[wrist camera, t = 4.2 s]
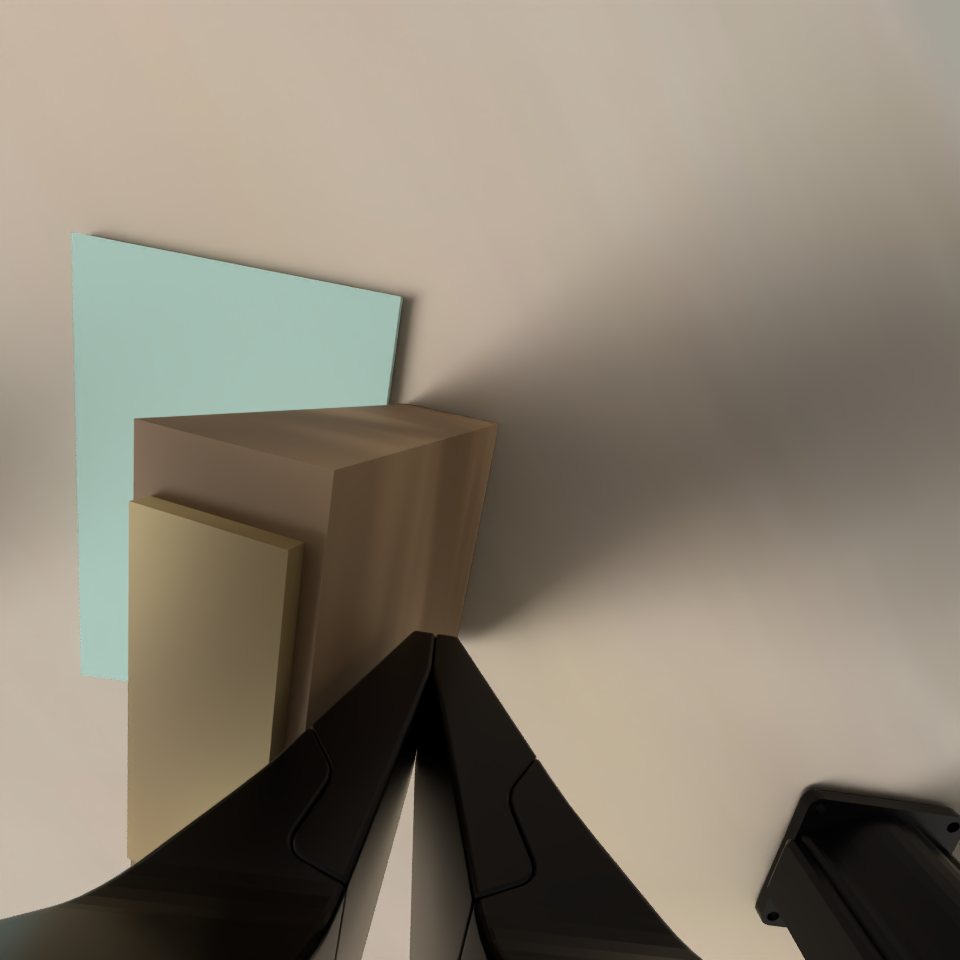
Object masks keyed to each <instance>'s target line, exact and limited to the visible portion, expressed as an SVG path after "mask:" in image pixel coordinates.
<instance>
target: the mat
mask: <svg viewBox="0 0 960 960" xmlns="http://www.w3.org/2000/svg"><path fill="white" fill-rule="evenodd" d="M71 241H72V285H73V330H74V375H75V420H76V465H77V510H78V554H79V599H80V644H81V675H85V676H93V677H100V678H107V679H114V680H121V681H128V595H129V501H131V500H133V482H134V418H152V417H171V416H189V415H208V414H227V413H245V412H264V411H283V410H301V409H320V408H339V407H357V406H376V405H389V398H390V391H391V383H392V376H393V369H394V361H395V354H396V346H397V339H398V332H399V324H400V317H401V309H402V302H403V298H402V297H400V296H395V295H390V294H385V293H380V292H374V291H369V290H364V289H359V288H354V287H349V286H344V285H339V284H334V283H329V282H324V281H318V280H313V279H308V278H303V277H298V276H293V275H288V274H283V273H278V272H273V271H268V270H263V269H257V268H252V267H247V266H242V265H237V264H232V263H227V262H222V261H217V260H212V259H207V258H201V257H196V256H191V255H186V254H181V253H176V252H171V251H166V250H161V249H156V248H151V247H145V246H140V245H135V244H130V243H125V242H120V241H115V240H110V239H105V238H100V237H95V236H90V235H84V234H79V233H74V232H71Z"/></svg>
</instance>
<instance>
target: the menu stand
mask: <svg viewBox="0 0 960 960" xmlns="http://www.w3.org/2000/svg"><path fill="white" fill-rule="evenodd" d="M498 425H499V424H497V423H493V422H488V421H483V420H479V419H474V418H469V417H465V416H460V415H455V414H451V413H446V412H441V411H437V410H432V409H427V408H423V407H418V406H413V405H409V404H395V405H376V406H357V407H339V408H320V409H301V410H283V411H264V412H245V413H227V414H208V415H189V416H171V417H152V418H134V482H133V500H131V501H129V595H128V829H127V858H129V859H131V866H132V865H134V864H135V863H137V862H138V861H139V860H141V859H142V858H144V857H145V856H146V855H148V854H149V853H150V852H152V851H153V850H154V849H156V848H157V847H158V846H160V845H161V844H162V843H164V842H165V841H167V840H168V839H169V838H171V837H172V836H173V835H175V834H176V833H177V832H179V831H180V830H181V829H183V828H184V827H185V826H187V825H188V824H190V823H191V822H192V821H194V820H195V819H196V818H198V817H199V816H200V815H202V814H203V813H204V812H206V811H207V810H209V809H210V808H211V807H213V806H214V805H215V804H217V803H218V802H219V801H221V800H222V799H223V798H225V797H226V796H227V795H229V794H230V793H232V792H233V791H234V790H235V789H237V788H238V787H239V786H241V785H242V784H243V783H244V782H246V781H247V780H248V779H250V778H251V777H252V776H253V775H255V774H256V773H257V772H259V771H260V770H261V769H262V768H264V767H265V766H266V765H267V764H269V763H270V762H271V761H272V760H273V759H274V758H275V757H277V756H278V755H279V754H280V753H281V752H282V751H284V750H285V749H286V748H287V747H288V746H289V745H290V744H292V743H293V742H294V741H295V740H296V739H297V738H298V737H299V736H300V735H301V734H302V733H303V732H305V731H306V730H307V729H310V727H311V725H312V724H314V723H315V722H316V721H317V720H318V719H319V718H320V717H321V716H322V715H323V714H324V713H325V712H327V711H328V710H329V709H330V708H331V707H332V706H333V705H334V704H335V703H336V702H337V701H338V700H340V699H341V698H342V697H343V696H344V695H345V694H346V693H347V692H348V691H349V690H350V689H351V688H353V687H354V686H355V685H356V684H357V683H358V682H359V681H360V680H361V679H362V678H363V677H364V676H366V675H367V674H368V673H369V672H370V671H371V670H372V669H373V668H374V667H375V666H376V665H377V664H378V663H380V662H381V661H382V660H383V659H384V658H385V657H386V656H387V655H388V654H389V653H390V652H391V651H393V650H394V649H395V648H396V647H397V646H398V645H399V644H400V643H401V642H402V641H403V640H404V639H406V638H407V637H408V636H409V635H410V634H411V633H412V632H413V631H423V632H429V633H433V634H434V635H435V637H436V635H438V634H442V635H449V636H455V637H457V638H458V632H459V627H460V622H461V617H462V612H463V607H464V601H465V596H466V591H467V586H468V581H469V575H470V570H471V565H472V560H473V555H474V549H475V544H476V539H477V534H478V529H479V524H480V518H481V513H482V508H483V503H484V498H485V492H486V487H487V482H488V477H489V472H490V467H491V461H492V456H493V451H494V446H495V441H496V435H497V430H498Z"/></svg>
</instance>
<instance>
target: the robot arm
mask: <svg viewBox="0 0 960 960" xmlns="http://www.w3.org/2000/svg"><path fill="white" fill-rule="evenodd" d="M416 752H417V754H416ZM415 757H416V763H415V785H414V822H413V858H412V895H411V931H410V960H702V959H701V958H700V957H699V956H698V955H696V954H695V953H694V952H693V951H692V950H691V949H690V948H689V947H688V946H687V945H686V944H685V943H684V942H683V941H682V940H681V939H680V938H679V937H678V936H677V935H676V934H675V933H674V932H673V931H672V930H671V929H670V927H669V926H668V925H667V924H666V923H665V922H664V921H663V919H662V918H661V917H660V916H659V915H658V913H657V912H656V911H655V910H654V908H653V907H652V906H651V905H650V904H649V902H648V901H647V900H646V899H645V897H644V896H643V895H642V894H641V893H640V891H639V890H638V889H637V888H636V887H635V885H634V884H633V883H632V882H631V880H630V879H629V878H628V877H627V876H626V874H625V873H624V872H623V871H622V869H621V868H620V867H619V866H618V865H617V863H616V862H615V861H614V860H613V858H612V857H611V856H610V855H609V854H608V852H607V851H606V850H605V849H604V847H603V846H602V845H601V844H600V843H599V841H598V840H597V839H596V838H595V836H594V835H593V834H592V833H591V831H590V830H589V829H588V828H587V826H586V825H585V824H584V822H583V821H582V820H581V819H580V817H579V816H578V815H577V813H576V812H575V811H574V810H573V808H572V807H571V806H570V805H569V803H568V802H567V800H566V799H565V797H564V796H563V795H562V793H561V792H560V790H559V789H558V787H557V786H556V785H555V783H554V782H553V780H552V779H551V778H550V776H549V775H548V773H547V771H546V770H545V768H544V767H543V765H542V764H541V762H540V761H539V760H537V759H536V755H535V754H534V752H533V751H532V749H531V748H530V746H529V745H528V743H527V742H526V740H525V739H524V737H523V736H522V734H521V733H520V731H519V730H518V728H517V726H516V725H515V723H514V722H513V720H512V719H511V717H510V716H509V714H508V713H507V711H506V710H505V708H504V707H503V705H502V704H501V702H500V701H499V699H498V698H497V696H496V695H495V693H494V692H493V690H492V689H491V687H490V686H489V684H488V683H487V681H486V680H485V678H484V677H483V675H482V674H481V672H480V671H479V669H478V668H477V666H476V665H475V663H474V662H473V660H472V658H471V657H470V655H469V654H468V652H467V651H466V649H465V648H464V646H463V645H462V643H461V642H460V640H459V639H458V638H457V637H455V636H449V635H442V634H438V635H436V637H435V635H434V634H433V633H429V632H423V631H413V632H412V633H411V634H410V635H409V636H408V637H407V638H406V639H404V640H403V641H402V642H401V643H400V644H399V645H398V646H397V647H396V648H395V649H394V650H393V651H391V652H390V653H389V654H388V655H387V656H386V657H385V658H384V659H383V660H382V661H381V662H380V663H378V664H377V665H376V666H375V667H374V668H373V669H372V670H371V671H370V672H369V673H368V674H367V675H366V676H364V677H363V678H362V679H361V680H360V681H359V682H358V683H357V684H356V685H355V686H354V687H353V688H351V689H350V690H349V691H348V692H347V693H346V694H345V695H344V696H343V697H342V698H341V699H340V700H338V701H337V702H336V703H335V704H334V705H333V706H332V707H331V708H330V709H329V710H328V711H327V712H325V713H324V714H323V715H322V716H321V717H320V718H319V719H318V720H317V721H316V722H315V723H314V724H312V725H311V727H310V729H307V730H306V731H305V732H303V733H302V734H301V735H300V736H299V737H298V738H297V739H296V740H295V741H294V742H293V743H292V744H290V745H289V746H288V747H287V748H286V749H285V750H284V751H282V752H281V753H280V754H279V755H278V756H277V757H275V758H274V759H273V760H272V761H271V762H270V763H269V764H267V765H266V766H265V767H264V768H262V769H261V770H260V771H259V772H257V773H256V774H255V775H253V776H252V777H251V778H250V779H248V780H247V781H246V782H244V783H243V784H242V785H241V786H239V787H238V788H237V789H235V790H234V791H233V792H232V793H230V794H229V795H227V796H226V797H225V798H223V799H222V800H221V801H219V802H218V803H217V804H215V805H214V806H213V807H211V808H210V809H209V810H207V811H206V812H204V813H203V814H202V815H200V816H199V817H198V818H196V819H195V820H194V821H192V822H191V823H190V824H188V825H187V826H185V827H184V828H183V829H181V830H180V831H179V832H177V833H176V834H175V835H173V836H172V837H171V838H169V839H168V840H167V841H165V842H164V843H162V844H161V845H160V846H158V847H157V848H156V849H154V850H153V851H152V852H150V853H149V854H148V855H146V856H145V857H144V858H142V859H141V860H139V861H138V862H137V863H135V864H134V865H132V866H131V867H129V868H128V869H127V870H125V871H124V872H122V873H121V874H119V875H118V876H116V877H114V878H113V879H111V880H109V881H108V882H106V883H104V884H103V885H101V886H99V887H97V888H95V889H93V890H91V891H89V892H87V893H85V894H84V895H82V896H79V897H77V898H74V899H72V900H69V901H67V902H64V903H61V904H58V905H55V906H52V907H48V908H44V909H40V910H36V911H32V912H29V913H25V914H21V915H17V916H13V917H9V918H5V919H1V920H0V960H361V958H362V955H363V951H364V947H365V944H366V940H367V936H368V933H369V929H370V925H371V922H372V918H373V914H374V911H375V907H376V903H377V900H378V896H379V892H380V889H381V885H382V881H383V878H384V874H385V870H386V867H387V863H388V859H389V856H390V852H391V848H392V845H393V841H394V837H395V834H396V830H397V826H398V823H399V819H400V815H401V812H402V808H403V804H404V800H405V797H406V793H407V789H408V786H409V782H410V778H411V775H412V771H413V766H414V762H415ZM959 839H960V816H959V815H958V814H957V813H956V812H955V811H954V810H953V809H951V808H947V807H940V806H933V805H925V804H918V803H911V802H904V801H896V800H889V799H882V798H874V797H867V796H860V795H852V794H845V793H838V792H830V791H823V790H811V791H808V792H806V793H805V794H804V795H803V796H802V797H801V799H800V801H799V804H798V806H797V808H796V811H795V813H794V816H793V818H792V820H791V823H790V825H789V827H788V830H787V832H786V834H785V837H784V839H783V841H782V844H781V846H780V848H779V851H778V853H777V855H776V858H775V860H774V862H773V865H772V867H771V869H770V872H769V874H768V876H767V879H766V881H765V883H764V886H763V888H762V890H761V893H760V895H759V897H758V900H757V902H756V905H755V908H756V911H757V913H758V915H759V916H760V918H761V920H762V922H763V923H764V924H767V925H771V926H780V927H787V928H788V930H789V932H790V934H791V935H792V937H793V939H794V941H795V942H796V944H797V946H798V948H799V949H800V951H801V953H802V955H803V957H804V958H805V960H960V862H959V861H958V860H957V859H956V858H955V857H954V856H953V855H952V852H953V851H954V849H955V847H956V845H957V843H958V841H959Z"/></svg>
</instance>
